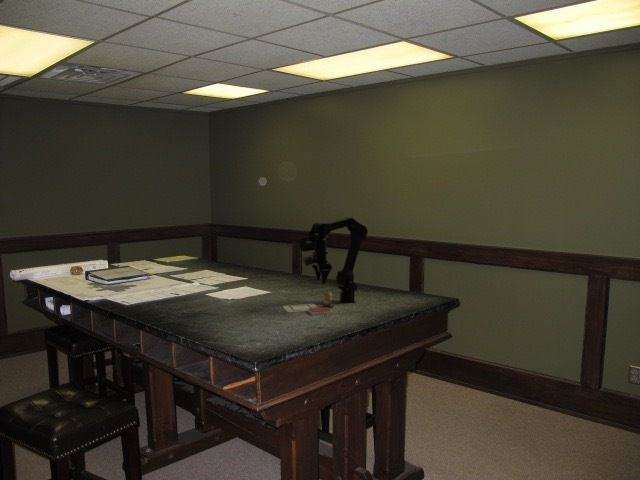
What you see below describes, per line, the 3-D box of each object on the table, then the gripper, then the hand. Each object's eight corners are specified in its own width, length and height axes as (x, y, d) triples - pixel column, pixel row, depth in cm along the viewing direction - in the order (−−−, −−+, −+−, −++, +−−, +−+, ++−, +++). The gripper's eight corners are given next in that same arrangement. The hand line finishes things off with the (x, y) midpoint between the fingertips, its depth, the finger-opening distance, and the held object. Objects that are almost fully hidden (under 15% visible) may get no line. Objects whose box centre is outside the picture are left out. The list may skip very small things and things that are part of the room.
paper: (313, 304, 248) (313, 303, 248) (321, 310, 237) (321, 309, 237) (281, 306, 244) (281, 305, 244) (287, 312, 232) (287, 311, 232)
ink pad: (327, 309, 238) (327, 306, 238) (332, 313, 230) (332, 310, 230) (306, 311, 235) (306, 308, 235) (311, 315, 227) (311, 312, 227)
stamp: (331, 305, 246) (331, 290, 246) (334, 307, 242) (334, 292, 241) (321, 306, 245) (321, 290, 244) (324, 308, 240) (324, 293, 239)
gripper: (299, 247, 248) (299, 279, 250) (308, 253, 230) (309, 286, 232) (321, 246, 251) (321, 277, 253) (332, 251, 233) (332, 285, 235)
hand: (320, 281), depth 243 cm, fingers open, 9 cm apart
